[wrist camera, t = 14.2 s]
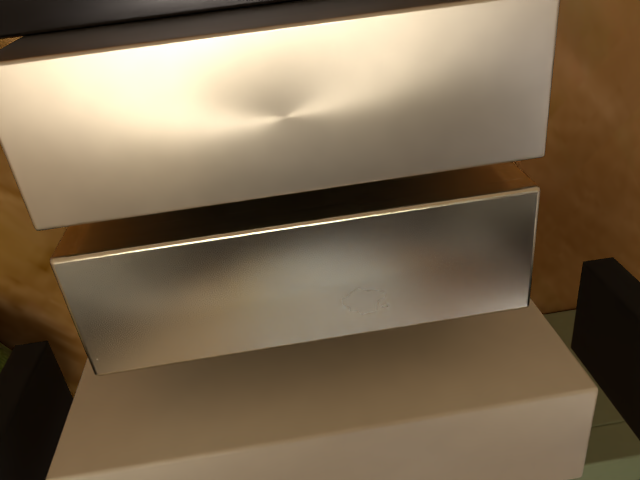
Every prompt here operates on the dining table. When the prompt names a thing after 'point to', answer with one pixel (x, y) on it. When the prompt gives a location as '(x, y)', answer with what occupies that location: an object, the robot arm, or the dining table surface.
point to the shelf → (602, 425)
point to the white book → (345, 410)
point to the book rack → (276, 165)
